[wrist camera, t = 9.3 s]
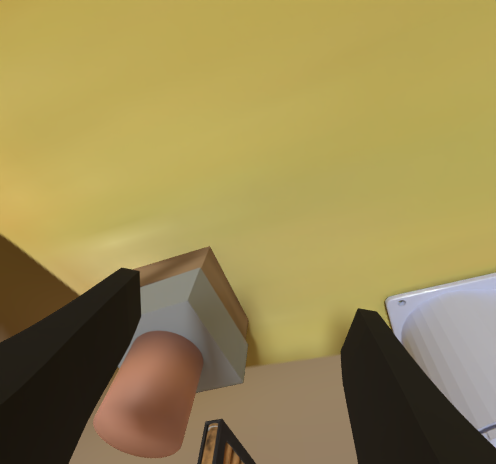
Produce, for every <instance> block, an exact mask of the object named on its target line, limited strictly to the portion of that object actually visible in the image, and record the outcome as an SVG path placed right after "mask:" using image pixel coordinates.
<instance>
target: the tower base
mask: <svg viewBox="0 0 496 464" xmlns="http://www.w3.org/2000/svg"><path fill="white" fill-rule="evenodd" d="M197 268H201V269H202V271H203V273H204V274H205V276H206V277H207V279H208V281H209V282H210V284H211V286H212V287H213V289H214V290H215V292H216V294H217V295H218V297H219V298H220V300H221V302H222V303H223V305H224V307H225V308H226V310H227V311H228V313H229V315H230V316H231V318H232V319H233V321H234V323H235V324H236V326H237V328H238V329H239V331H240V332H241V334H242V336H243V337H244V339H245V340H246V334H247V327H248V318H247V316H246V314H245V313H244V311H243V309H242V307H241V305H240V303H239V301H238V299H237V297H236V295H235V293H234V292H233V290H232V288H231V286H230V284H229V282H228V280H227V278H226V276H225V274H224V272H223V270H222V269H221V267H220V265H219V263H218V261H217V259H216V257H215V255H214V253H213V251H212V249H211V248H210V246H209V247H206V248H202V249H199V250H196V251H192V252H189V253H186V254H182V255H179V256H176V257H172V258H169V259H166V260H163V261H159V262H156V263H153V264H149V265H146V266H143V267H139V268H136V269H133V270H137V271H140V287H143V286H146V285H149V284H152V283H155V282H158V281H161V280H164V279H167V278H170V277H173V276H176V275H179V274H182V273H185V272H188V271H191V270H194V269H197Z"/></svg>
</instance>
